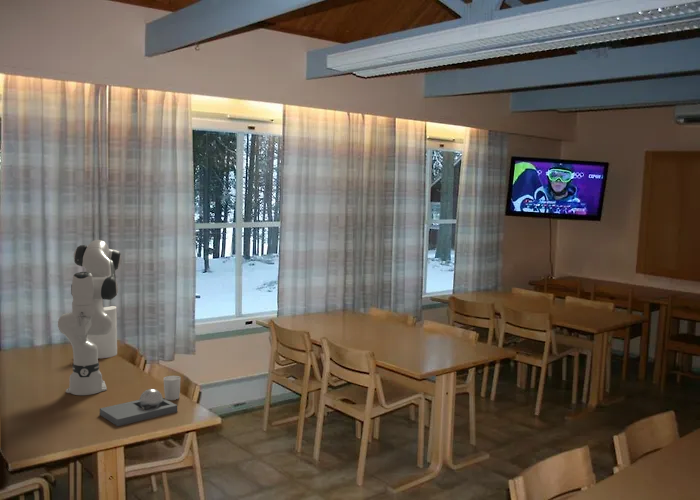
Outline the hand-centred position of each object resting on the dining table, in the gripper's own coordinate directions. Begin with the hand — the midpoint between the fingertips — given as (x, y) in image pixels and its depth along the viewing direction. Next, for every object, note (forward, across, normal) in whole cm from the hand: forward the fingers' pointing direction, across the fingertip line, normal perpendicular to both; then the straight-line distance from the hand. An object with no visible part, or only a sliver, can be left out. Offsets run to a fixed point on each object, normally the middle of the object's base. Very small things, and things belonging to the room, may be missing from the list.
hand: (84, 342), depth 289 cm
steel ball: (+29, +5, -27) cm, 40 cm away
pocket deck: (+34, +3, -22) cm, 41 cm away
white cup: (+34, +22, -36) cm, 54 cm away
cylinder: (+35, +111, +6) cm, 116 cm away
